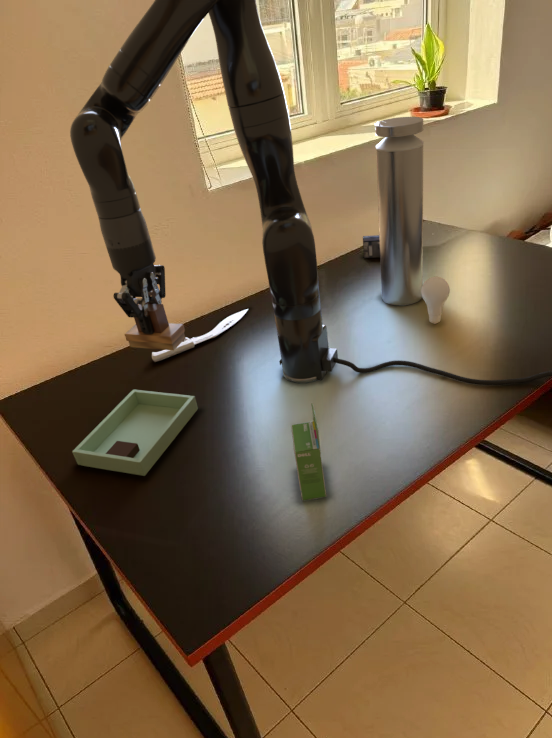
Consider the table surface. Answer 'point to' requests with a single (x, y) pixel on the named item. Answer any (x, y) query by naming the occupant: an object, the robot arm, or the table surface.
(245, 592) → the table surface
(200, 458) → the table surface
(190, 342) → the knife
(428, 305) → the lightbulb
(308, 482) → the ink box
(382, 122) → the silver metal canister
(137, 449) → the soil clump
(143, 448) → the tray
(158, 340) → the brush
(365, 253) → the mini dv tape
